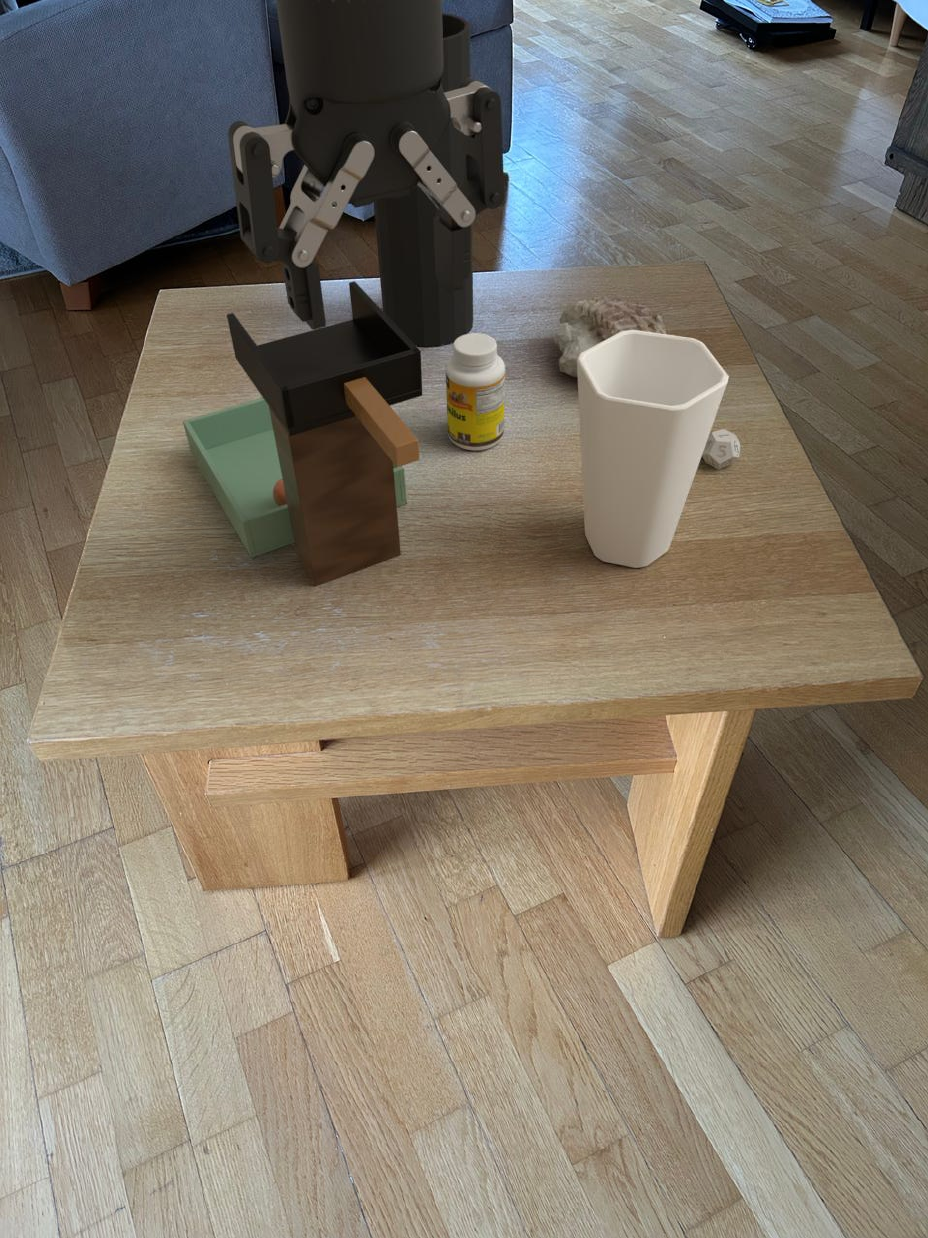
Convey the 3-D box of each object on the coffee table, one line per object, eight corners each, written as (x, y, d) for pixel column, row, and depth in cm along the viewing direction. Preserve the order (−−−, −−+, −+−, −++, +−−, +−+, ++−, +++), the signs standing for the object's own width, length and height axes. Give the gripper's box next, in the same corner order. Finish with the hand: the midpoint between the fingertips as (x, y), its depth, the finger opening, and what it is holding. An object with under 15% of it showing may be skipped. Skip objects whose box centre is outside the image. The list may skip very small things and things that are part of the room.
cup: (699, 516, 85) (736, 343, 73) (682, 592, 78) (719, 416, 66) (577, 493, 88) (592, 323, 75) (550, 565, 81) (562, 391, 69)
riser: (315, 586, 80) (282, 402, 67) (297, 558, 82) (262, 375, 69) (401, 554, 82) (385, 371, 69) (381, 528, 85) (363, 347, 72)
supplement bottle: (439, 428, 95) (435, 335, 88) (490, 415, 97) (490, 322, 89) (460, 459, 92) (458, 364, 84) (513, 445, 93) (515, 351, 86)
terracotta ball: (283, 517, 84) (273, 485, 83) (274, 511, 87) (264, 480, 85) (314, 507, 85) (305, 474, 84) (305, 501, 88) (295, 470, 86)
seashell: (526, 323, 104) (582, 245, 98) (586, 345, 110) (642, 273, 104) (581, 413, 96) (645, 335, 90) (641, 431, 102) (705, 359, 96)
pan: (337, 504, 59) (331, 458, 57) (235, 358, 71) (226, 313, 68) (477, 457, 62) (478, 410, 60) (358, 324, 74) (354, 280, 71)
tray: (251, 558, 82) (242, 522, 79) (191, 455, 93) (182, 420, 90) (407, 503, 87) (404, 468, 84) (334, 411, 98) (329, 377, 95)
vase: (373, 341, 107) (344, 39, 86) (398, 298, 114) (377, 8, 92) (461, 351, 105) (455, 45, 84) (482, 307, 112) (481, 13, 91)
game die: (742, 471, 90) (749, 445, 87) (704, 474, 89) (709, 448, 87) (730, 449, 92) (736, 423, 90) (693, 452, 92) (698, 426, 90)
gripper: (230, 6, 38) (290, 368, 49) (537, -40, 42) (525, 301, 54) (175, -33, 42) (241, 306, 54) (457, -70, 47) (462, 249, 59)
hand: (383, 303), depth 54 cm, fingers open, 8 cm apart
